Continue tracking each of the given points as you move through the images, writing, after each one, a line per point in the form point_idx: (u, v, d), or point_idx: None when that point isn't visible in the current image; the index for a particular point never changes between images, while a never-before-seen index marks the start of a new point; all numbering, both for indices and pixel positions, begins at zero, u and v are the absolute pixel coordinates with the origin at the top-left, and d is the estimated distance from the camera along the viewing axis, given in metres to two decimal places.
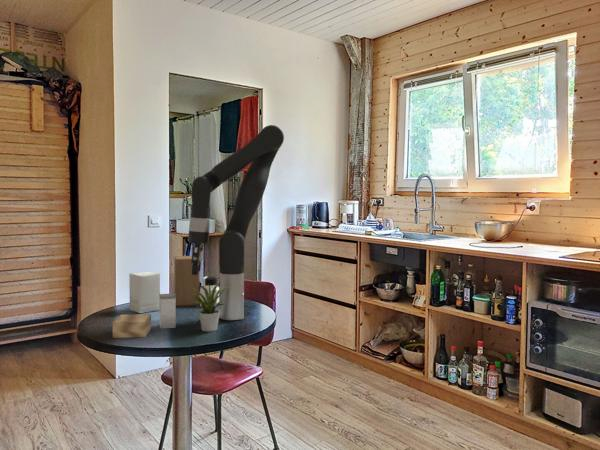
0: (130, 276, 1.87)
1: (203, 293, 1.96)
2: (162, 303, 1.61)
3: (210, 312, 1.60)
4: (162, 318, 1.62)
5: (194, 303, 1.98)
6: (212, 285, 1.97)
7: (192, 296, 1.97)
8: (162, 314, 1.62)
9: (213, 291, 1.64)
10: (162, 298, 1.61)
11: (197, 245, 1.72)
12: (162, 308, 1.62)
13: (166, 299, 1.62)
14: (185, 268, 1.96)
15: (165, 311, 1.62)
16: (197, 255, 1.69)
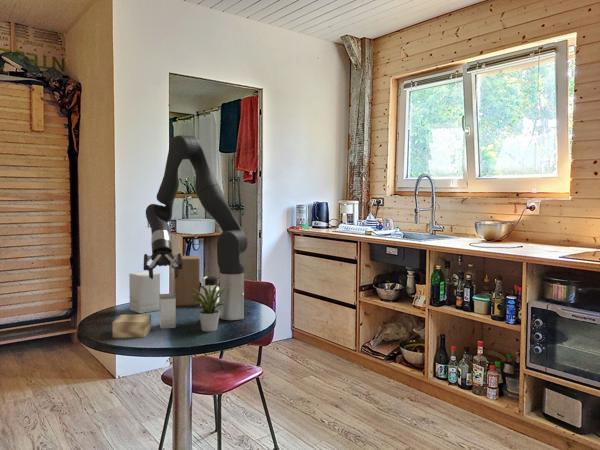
0: (130, 276, 1.87)
1: (203, 293, 1.96)
2: (162, 303, 1.61)
3: (210, 312, 1.60)
4: (162, 318, 1.62)
5: (194, 303, 1.98)
6: (212, 285, 1.97)
7: (192, 296, 1.97)
8: (162, 314, 1.62)
9: (213, 291, 1.64)
10: (162, 298, 1.61)
11: (152, 254, 1.80)
12: (162, 308, 1.62)
13: (166, 299, 1.62)
14: (185, 268, 1.96)
15: (165, 311, 1.62)
16: None
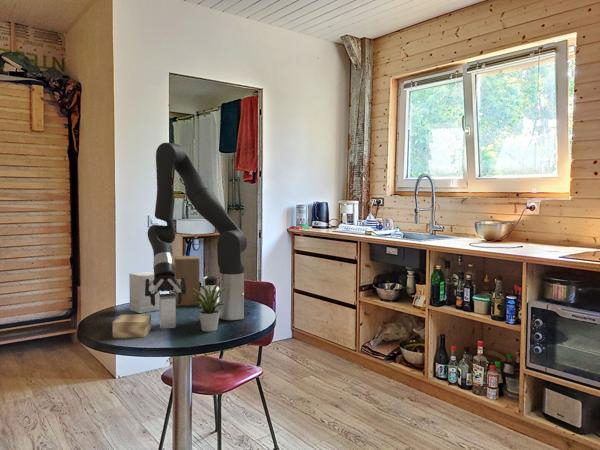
0: (130, 276, 1.87)
1: (203, 293, 1.96)
2: (162, 303, 1.61)
3: (210, 312, 1.60)
4: (162, 318, 1.62)
5: (194, 303, 1.98)
6: (212, 285, 1.97)
7: (192, 296, 1.97)
8: (162, 314, 1.62)
9: (213, 291, 1.64)
10: (162, 298, 1.61)
11: (154, 279, 1.71)
12: (162, 308, 1.62)
13: (166, 299, 1.62)
14: (185, 268, 1.96)
15: (165, 311, 1.62)
16: (145, 286, 1.67)
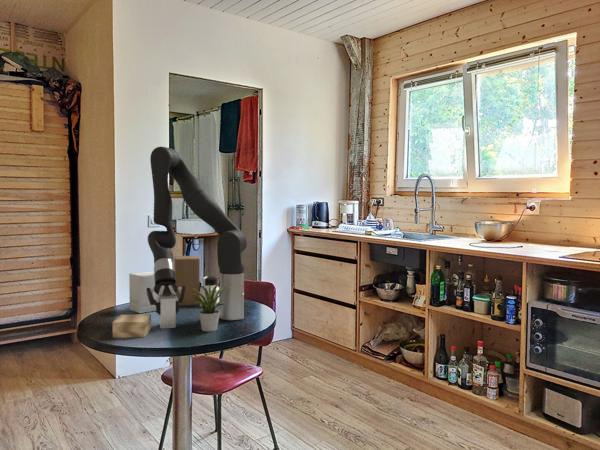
0: (130, 276, 1.87)
1: (203, 293, 1.96)
2: (162, 303, 1.61)
3: (210, 312, 1.60)
4: (162, 318, 1.62)
5: (194, 303, 1.98)
6: (212, 285, 1.97)
7: (192, 296, 1.97)
8: (162, 314, 1.62)
9: (213, 291, 1.64)
10: (162, 298, 1.61)
11: (155, 285, 1.69)
12: (162, 308, 1.62)
13: (166, 299, 1.62)
14: (185, 268, 1.96)
15: (165, 311, 1.62)
16: (148, 295, 1.65)
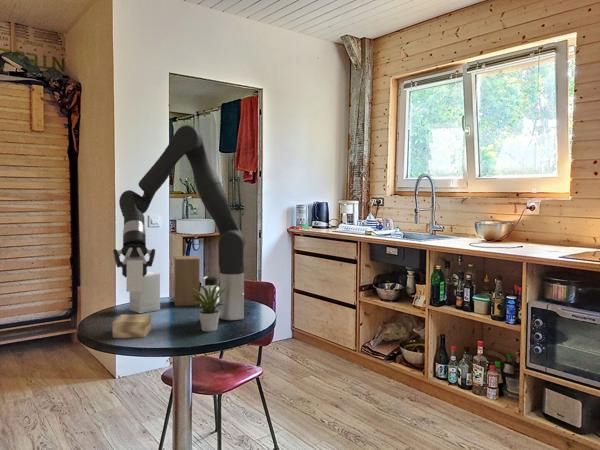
0: None
1: (203, 293, 1.96)
2: (128, 265, 1.53)
3: (210, 312, 1.60)
4: (128, 280, 1.53)
5: (194, 303, 1.98)
6: (212, 285, 1.97)
7: (192, 296, 1.97)
8: (128, 276, 1.53)
9: (213, 291, 1.64)
10: (128, 259, 1.53)
11: (122, 248, 1.60)
12: (128, 270, 1.53)
13: (133, 260, 1.53)
14: (185, 268, 1.96)
15: (131, 273, 1.53)
16: (115, 257, 1.56)
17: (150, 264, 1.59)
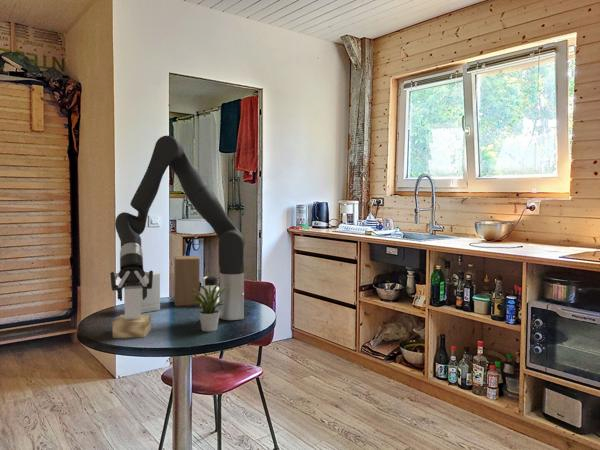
0: None
1: (203, 293, 1.96)
2: (126, 293, 1.52)
3: (210, 312, 1.60)
4: (126, 309, 1.52)
5: (194, 303, 1.98)
6: (212, 285, 1.97)
7: (192, 296, 1.97)
8: (126, 305, 1.52)
9: (213, 291, 1.64)
10: (126, 288, 1.52)
11: (120, 271, 1.59)
12: (126, 299, 1.52)
13: (131, 289, 1.53)
14: (185, 268, 1.96)
15: (130, 302, 1.53)
16: (111, 280, 1.55)
17: (150, 286, 1.59)
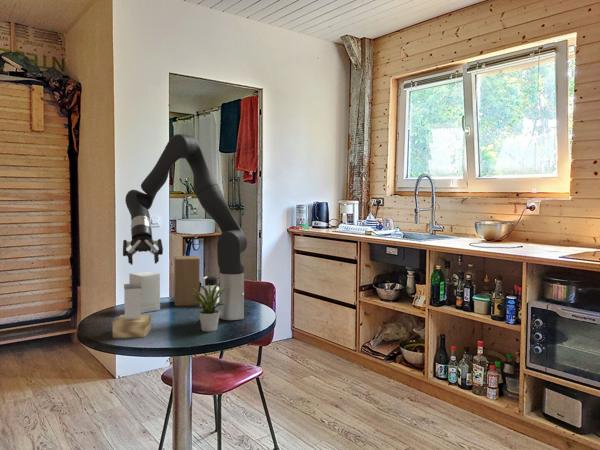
0: (130, 276, 1.87)
1: (203, 293, 1.96)
2: (126, 293, 1.52)
3: (210, 312, 1.60)
4: (126, 309, 1.52)
5: (194, 303, 1.98)
6: (212, 285, 1.97)
7: (192, 296, 1.97)
8: (126, 305, 1.52)
9: (213, 291, 1.64)
10: (126, 288, 1.52)
11: None
12: (126, 299, 1.52)
13: (131, 289, 1.53)
14: (185, 268, 1.96)
15: (130, 302, 1.53)
16: (123, 246, 1.74)
17: (161, 252, 1.78)
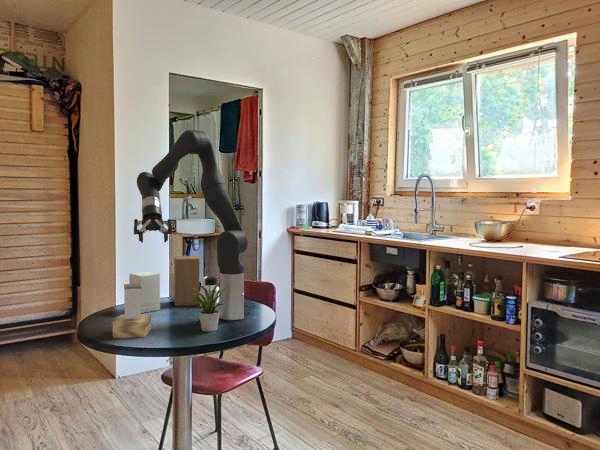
0: (130, 276, 1.87)
1: (203, 293, 1.96)
2: (126, 293, 1.52)
3: (210, 312, 1.60)
4: (126, 309, 1.52)
5: (194, 303, 1.98)
6: (212, 285, 1.97)
7: (192, 296, 1.97)
8: (126, 305, 1.52)
9: (213, 291, 1.64)
10: (126, 288, 1.52)
11: (142, 220, 1.83)
12: (126, 299, 1.52)
13: (131, 289, 1.53)
14: (185, 268, 1.96)
15: (130, 302, 1.53)
16: (134, 225, 1.80)
17: (171, 232, 1.83)
